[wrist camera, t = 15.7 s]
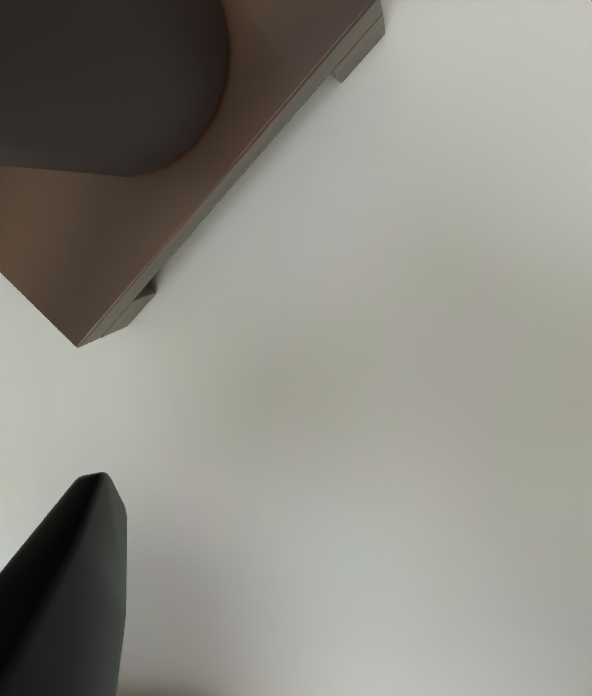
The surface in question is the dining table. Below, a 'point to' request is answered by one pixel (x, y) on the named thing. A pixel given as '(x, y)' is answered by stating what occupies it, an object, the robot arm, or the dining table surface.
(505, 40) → the dining table surface
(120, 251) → the brown wooden stand
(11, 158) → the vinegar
